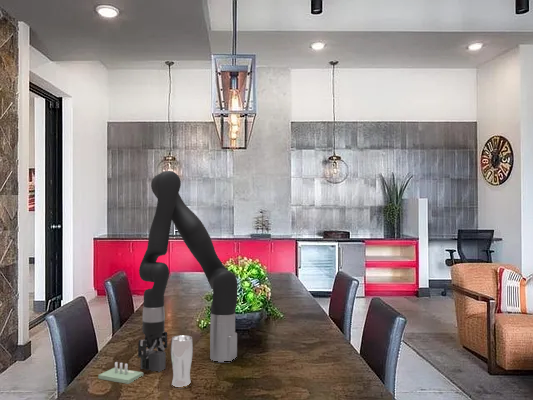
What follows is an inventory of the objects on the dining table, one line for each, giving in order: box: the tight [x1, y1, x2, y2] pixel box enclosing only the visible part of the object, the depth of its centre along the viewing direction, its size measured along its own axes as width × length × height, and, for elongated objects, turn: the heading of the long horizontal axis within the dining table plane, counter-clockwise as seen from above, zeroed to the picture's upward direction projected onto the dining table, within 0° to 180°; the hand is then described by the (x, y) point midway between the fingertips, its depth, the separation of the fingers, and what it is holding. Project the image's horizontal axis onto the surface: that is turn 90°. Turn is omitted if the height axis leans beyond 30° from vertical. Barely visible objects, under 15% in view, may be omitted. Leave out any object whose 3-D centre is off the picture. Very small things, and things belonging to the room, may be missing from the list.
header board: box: [97, 361, 144, 385], centre depth 165 cm, size 12×8×5 cm, turn 68°
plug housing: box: [140, 349, 167, 373], centre depth 173 cm, size 8×4×6 cm, turn 68°
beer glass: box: [170, 334, 194, 387], centre depth 158 cm, size 7×7×15 cm
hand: (153, 365), depth 173 cm, fingers open, 8 cm apart
